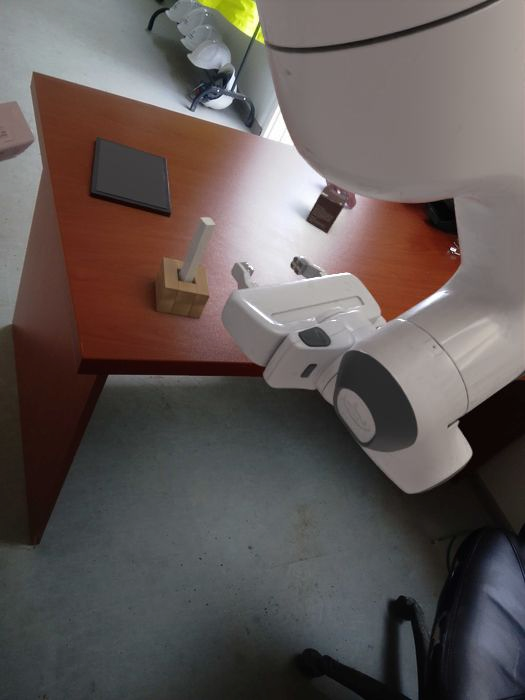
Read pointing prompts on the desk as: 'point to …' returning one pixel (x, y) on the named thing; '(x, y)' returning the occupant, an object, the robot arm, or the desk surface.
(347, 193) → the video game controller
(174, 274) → the pen stand
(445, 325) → the robot arm
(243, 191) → the desk surface
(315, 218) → the box
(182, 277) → the white square bar
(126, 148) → the plate
